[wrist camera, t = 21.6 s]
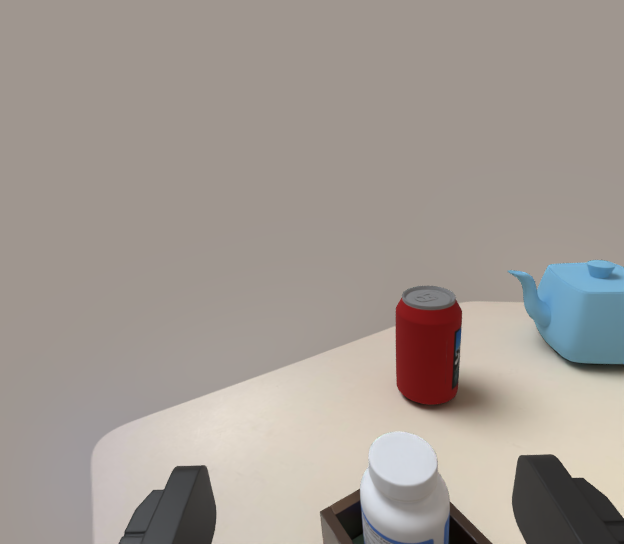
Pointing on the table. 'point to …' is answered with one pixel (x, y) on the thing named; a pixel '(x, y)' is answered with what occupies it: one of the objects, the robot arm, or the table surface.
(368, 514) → the pill bottle
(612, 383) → the table surface
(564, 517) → the robot arm
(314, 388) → the table surface
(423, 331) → the beverage can
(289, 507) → the table surface
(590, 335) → the teapot
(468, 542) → the wooden compartment box
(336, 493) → the table surface
